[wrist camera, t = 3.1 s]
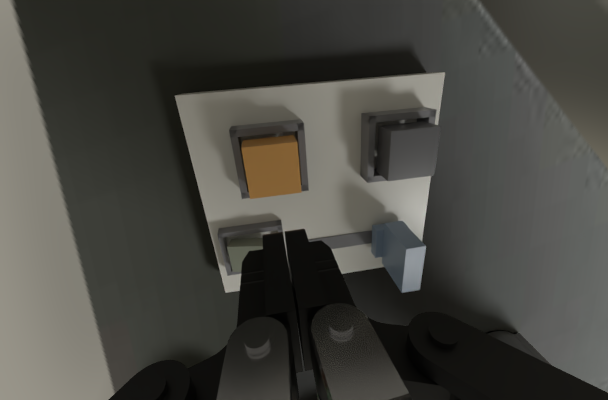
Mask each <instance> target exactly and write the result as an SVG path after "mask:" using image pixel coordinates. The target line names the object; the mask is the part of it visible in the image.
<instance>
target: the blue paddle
mask: <svg viewBox="0 0 608 400" xmlns="http://www.w3.org/2000/svg"><path fill="white" fill-rule="evenodd" d="M425 251H426V245H425V244H424V243H423V242H422V241H421V240H420V239H419V238H418V237H417V236H416V235H415V234H414V233H413V232H412V231H411V230H410V229H409V228H408V226H407V225H406V224H405V223H404V222H403V221H396V222H389V223H384V224H378V225H372V245H371V252H372V254H373V255H374V257H375V258H378V257H382V264H383V265H384V267H385V268H386V270H387V271H388V273H389V274H390V276H391V277H392V279H393V281H394V282H395V284H396V285H397V287H398V288H399V290H400V291H401V293H404V292H410V291H416V290H420V285H421V279H422V272H423V265H424V258H425Z"/></svg>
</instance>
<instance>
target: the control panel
mask: <svg viewBox="0 0 608 400" xmlns="http://www.w3.org/2000/svg"><path fill="white" fill-rule="evenodd" d="M444 76H445V73H416V74H405V75H393V76H381V77H370V78H358V79H346V80H334V81H323V82H311V83H299V84H288V85H276V86H264V87H253V88H241V89H229V90H217V91H206V92H194V93H183V94H179V95H176V96H175V99H176V103H177V107H178V111H179V115H180V118H181V122H182V126H183V130H184V134H185V138H186V142H187V145H188V149H189V153H190V157H191V161H192V165H193V169H194V172H195V176H196V180H197V184H198V188H199V192H200V196H201V199H202V203H203V207H204V211H205V215H206V219H207V223H208V226H209V230H210V234H211V238H212V242H213V246H214V249H215V253H216V257H217V261H218V265H219V269H220V273H221V276H222V280H223V284H224V288H225V292H226V293H227V292H234V291H240V285H241V283H240V281H241V272H233V271H232V266H231V262H230V258H229V254H228V249H227V246H228V244H229V242H230V240H231V239H241V238H262V235H264V234H271V233H278V232H283V236H284V242H285V248H286V241H285V231H291V230H298V229H305V231H306V234H307V237H308V241H309V242H313V241H320V240H322V241H323V242H324V243H325V244H327V245H328V246H329V247H330V248H331V250H332V252H333V255H334V257H335V260H336V262H337V264H338V266H339V269H340V271H341V273H342V274H344V273H350V272H356V271H362V270H368V269H375V268H381V267H384V265H383V264H382V257H378V258H375V257H374V255H373V254H372V252H371V245H372V225H378V224H384V223H389V222H396V221H403V222H404V223H405V224H406V225H407V226H408V228H409V229H410V230H411V231H412V232H413V233H414V234H415V235H416V236H417V237H418V238H419V239H420V240H421V241H422V238H423V230H424V223H425V215H426V208H427V201H428V193H429V186H430V179H431V176H426V177H418V178H410V179H403V180H395V181H387V180H386V179H385V178H384V177H382V176H381V175H380V174H379V173H377V172H376V170H377V147H378V126H383V125H392V124H402V123H411V122H421V121H425V122H428V123H432V124H435V125H438V120H439V113H440V105H441V98H442V91H443V83H444ZM288 135H294V137H295V139H296V140H297V143H298V155H299V167H300V179H301V191H302V192H301V193H294V194H286V195H278V196H270V197H262V198H255V199H250V195H249V190H248V184H247V178H246V172H245V167H244V161H243V155H242V149H241V147H242V142H243V140H250V139H260V138H269V137H279V136H288ZM286 254H287V249H286ZM287 260H288V257H287Z"/></svg>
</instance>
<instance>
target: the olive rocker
mask: <svg viewBox="0 0 608 400" xmlns="http://www.w3.org/2000/svg"><path fill="white" fill-rule="evenodd" d="M227 249H228V254H229V258H230V262H231V266H232V271H233V272H241V268H242V261H243V259H244V258H245V256H246V255H247V253H248V252H249V251H254V250H260V249H263V238H241V239H231V240H230V242H229V244H228V246H227Z"/></svg>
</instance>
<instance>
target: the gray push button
mask: <svg viewBox="0 0 608 400" xmlns="http://www.w3.org/2000/svg"><path fill="white" fill-rule="evenodd" d="M440 132H441V126H439V125H435V124H432V123H428V122H425V121H421V122H411V123H402V124H392V125H383V126H378V147H377V170H376V172H377V173H379V174H380V175H381V176H382V177H384V178H385V179H386V180H387V181H395V180H403V179H410V178H418V177H426V176H434V174H435V167H436V160H437V153H438V146H439V139H440Z"/></svg>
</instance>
